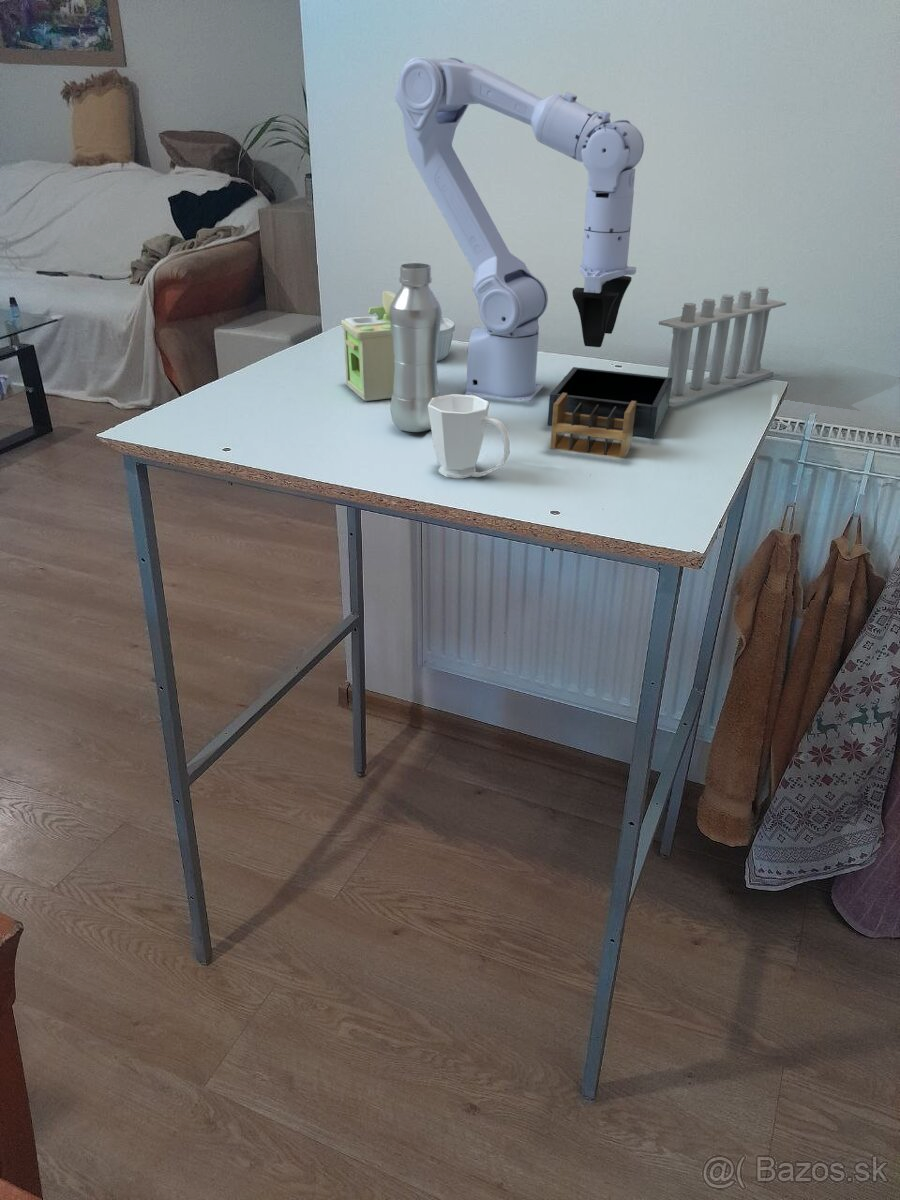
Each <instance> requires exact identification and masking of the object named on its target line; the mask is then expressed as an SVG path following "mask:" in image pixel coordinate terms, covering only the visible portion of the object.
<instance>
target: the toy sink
mask: <svg viewBox="0 0 900 1200" xmlns="http://www.w3.org/2000/svg"><path fill="white" fill-rule="evenodd" d="M396 295H397V293H395V292H394V291H391V290H384V291H383V292H382V295H381V301H382V305H378V306H370V307H369V308H368V310H367V314H368V315H369V316H356V317H354V316H353V317H346V318H345V319H341V320H340V326H341V328H342V329H343V343H344V361H345V363H344V364H345V381H346V382H345V383H346V386H347V387H348V388H349V389H350V390H352V392H354V393H355V394H356V395H357V396H358V397H359V398H360V399H362V401H364V402H370V401H378V400H386V399H392V394H393V387H394V371H395V362H394V359H395V356H394V347H393V338H392V332H391V325H390V318H389V310H390V306H391V303H392V302H393V300H394V298H395V296H396ZM374 314H376V315H374Z"/></svg>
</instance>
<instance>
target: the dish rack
mask: <svg viewBox="0 0 900 1200" xmlns="http://www.w3.org/2000/svg"><path fill="white" fill-rule="evenodd" d="M566 405H567V393H562V394H561V396H560V397H559V398H558V399H557V401H556V402H555V403H554V405H553V419H552V426H551V433H550V447H549V448H550V449H551V450H558V451H565V452H574V453H581V454H588V455H595V456H596V455H597V456H604V457H611V458H618V459H626V457H627V455H628V453H629V451H630V449H631V448H632V444H633V443H632V442H633V436H632V435H633V426H634V418H635V409H636V401H631V403H630V404H629V406H628V408H627V409H626V411H625V414H624V419H618V418H615V415H616V406H614V408H613V410H612V411H611V413H610V414H609V416H608V417H602V416H598V411H599V404H597V405H596V407H595V408H594V410H593V411H592V413H591V414H590V415H585V414H581V409H582V402H580V403H579V405H578V406H577V407H576V409H575V410H574V412H573V413H569V412H566ZM565 422H572V423H571V424H566V423H565ZM580 423H581V424H589V426H582V425H580ZM597 426H605V427H607V429H606V428H598V427H597ZM614 428H621V429H623V431H622V430H614ZM565 434H569V435H570V436H565ZM580 436H585V437H587V438H580ZM597 438H600V439H604V440H597ZM614 440H617V441H621V442H620V443H619V442H614Z"/></svg>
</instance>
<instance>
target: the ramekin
mask: <svg viewBox="0 0 900 1200" xmlns="http://www.w3.org/2000/svg"><path fill="white" fill-rule="evenodd" d="M455 329H456V323H455V322H454V321H453V320H452V319H450V318H447V317H444V316H442V317H441V325H440V332H439V339H438V352H437V362H438V361H442V360H444V359H446V357H447V356H448V355H449V354H450V351H451V346H452V341H453V335H454V332H455Z"/></svg>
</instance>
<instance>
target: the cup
mask: <svg viewBox="0 0 900 1200" xmlns="http://www.w3.org/2000/svg"><path fill="white" fill-rule="evenodd" d="M490 403H491V402H490V401H488V400H485V399H484V398H482V397H479V396H478V395H473V394H471V395H465V394H457V393H450V394H444V395H440V396H439V397H434V398H432V400H431V401H430V403H429V404H428V410H429V417H430V424H431V437H432V444H433V449H434V453H435V457H436V462H437V464H439V465H440V466H439V468H438V474H440V475H441V476H442V475H443V477H446V478H450V479H460V480H462V479H465V478H470V477H473V478H479V477H483V476H486V475H488V474H490V473H492V472H494V471H496V470H497V469H499V468H501V467H503V465H504V464H505V463H506V462H507V461H508V459H509V455H510V452H511V448H510V439H509V434H508V433H509V432H508V431H507V429H506V427H505V425H504V424H503V422H501V421H500V420H499V419H497V418H493V417H490V416H488V413H489V407H490ZM486 425H494V426H495V427H496V428H497V431H499V434H501V438H502V442H503V452H504V453H503V456H502V459H501V461H500V462H499V463H498V464H496V465H495V466H494V467H492V468H490V469H488V470H484V471H481V472H479V471H477V467H476V465H477V462H478V459H479V455H480V452H481V448H482V446H483V441H484V437H485V435H484V434H485V430H486Z"/></svg>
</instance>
